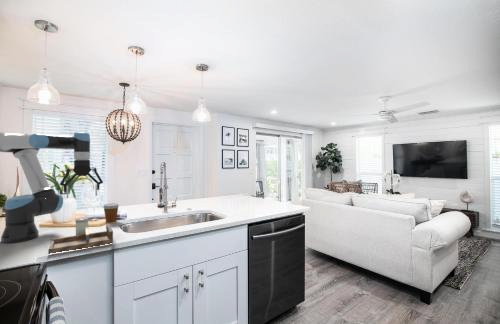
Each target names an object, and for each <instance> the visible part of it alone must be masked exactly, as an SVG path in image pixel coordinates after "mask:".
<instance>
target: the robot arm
mask: <svg viewBox="0 0 500 324" xmlns="http://www.w3.org/2000/svg"><path fill="white" fill-rule="evenodd" d="M90 137H91V136H90V133H89V132H84V131H83V132H79V131H76V132H74V133H73V135H56V134H44V133H32V134H27V133H15V132H14V133H13V132H12V133H11V132H0V153H12V156H13V157H14V158H15V159H17V160H18V161H19V163H20V166H21V168H22V171H23V174H24V176H25V179H26V180H27V183H28V186H29V188H30V190H31V194H23V195H22V194H21V195H16V196H12V197H10V198H7V199H6V200H5V204H4V214H5V215H4V218H5V219H4V222H5V223H4V224H5V226H4V230H3V232H2V234H1V236H0V242H1V243H3V244H11V243H13V244H14V243H20V242H26V241H29V240H33V239H36V238H38V237H39V234H40V233H39V229H38V228H37V226H36V224H35V217H40V216H45V215H49V214H51V215H52V214H53V213H57V212H59V211H60V210H61V209H62V207H63V205H64V198H63V195H62V194H60V193H59V192H56V191H55V189H54V188H52V187H50V185H49V182H48V180H47V178H46V175H45V172H44V169H43V168H42V166H41V163H40V161H39V158H38V156H37V155H38V154H39V150H41V149H51V150H52V149H54V150H55V149H56V150H73V159H74V161H73V168H70V167H68V168H66V173H65V174H64V177H63V178H62V180H61V181H60V183H59V186H62V187H63V192H64V193H66V199H69V184H70V183H71V182H72V181H73V180H74V179H75V178H77V176H78V177H82V176H83V177H87V176H88V177H89V178H90V179H91V180H92V181H93V182H94V183H95V185H94V186H95V189H94V190H95V191H94V192H95V194H94V195H95V197H98V191H100V185H101V184H103V183H104V181H103V180H102V178H101V176H100V175H99V173H98V169H97V168H96V167H92V168H91V160H90V159H91V138H90ZM91 171H92V172H93V173H94V174H95V176H96V177H97V179H98V180H97V179H96V178H95V177H94V176H93V175H92V174H91V173H90V172H91ZM72 172H73V173H74V174H73V175H71V177H70V178H69V179H68V180H67V178H68V176H69V174H70V173H72ZM65 181H66V182H65ZM45 198H46V199H45Z"/></svg>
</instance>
